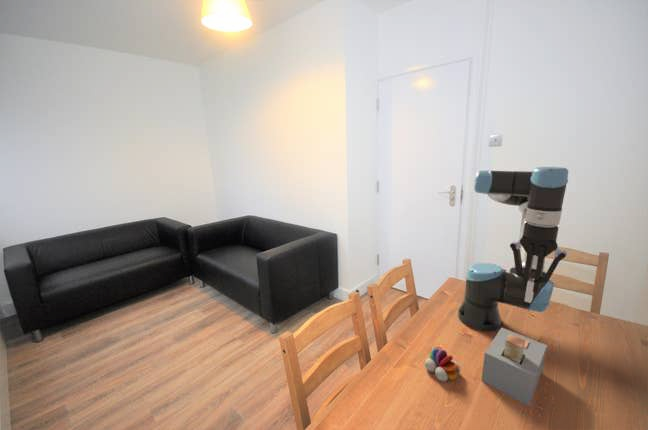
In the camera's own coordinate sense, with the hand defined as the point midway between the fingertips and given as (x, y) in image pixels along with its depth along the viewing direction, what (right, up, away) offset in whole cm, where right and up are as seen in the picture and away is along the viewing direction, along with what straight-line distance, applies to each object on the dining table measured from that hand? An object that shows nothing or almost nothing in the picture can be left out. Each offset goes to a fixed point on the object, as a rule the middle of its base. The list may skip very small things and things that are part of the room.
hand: (528, 300), depth 82 cm
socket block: (-3, -24, +2) cm, 25 cm away
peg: (-6, -20, -1) cm, 21 cm away
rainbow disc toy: (-23, -24, +6) cm, 34 cm away
